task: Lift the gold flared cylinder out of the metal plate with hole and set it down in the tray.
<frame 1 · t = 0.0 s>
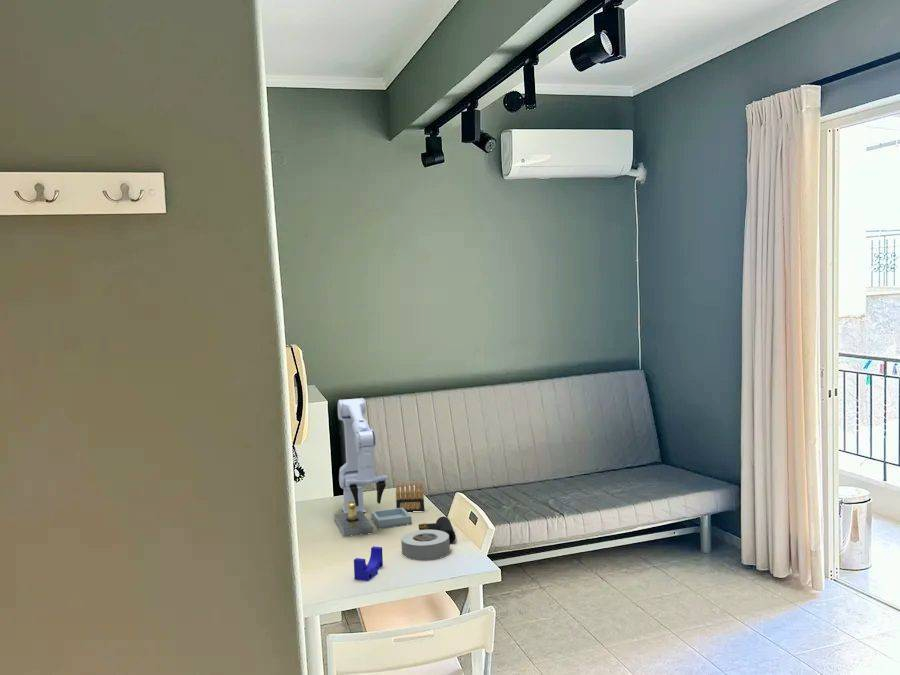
hand: (367, 504, 264), 10 cm above the table, tool pointing down, fingers open, 7 cm apart
gold flared cylinder: (352, 515, 271), in the metal plate with hole
cable clip: (371, 574, 227), on the table
ammunition clip: (410, 512, 288), on the table
metal plate with hole: (353, 526, 272), on the table
tray: (391, 521, 276), on the table
tape roll: (426, 553, 243), on the table
pipe connector: (436, 538, 257), on the table
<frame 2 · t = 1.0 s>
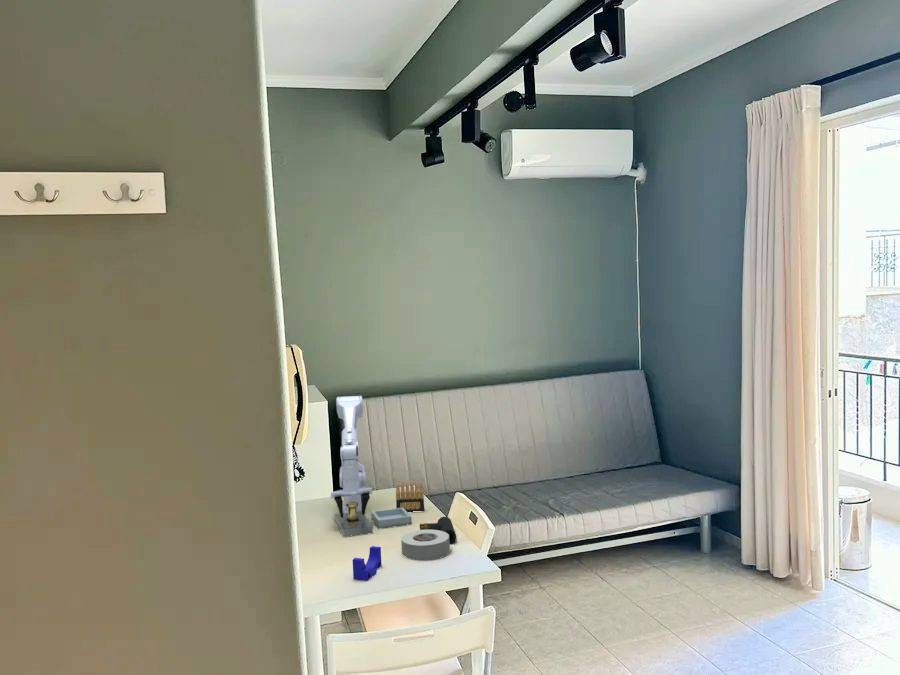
hand: (352, 515, 271), 4 cm above the table, tool pointing down, fingers open, 7 cm apart
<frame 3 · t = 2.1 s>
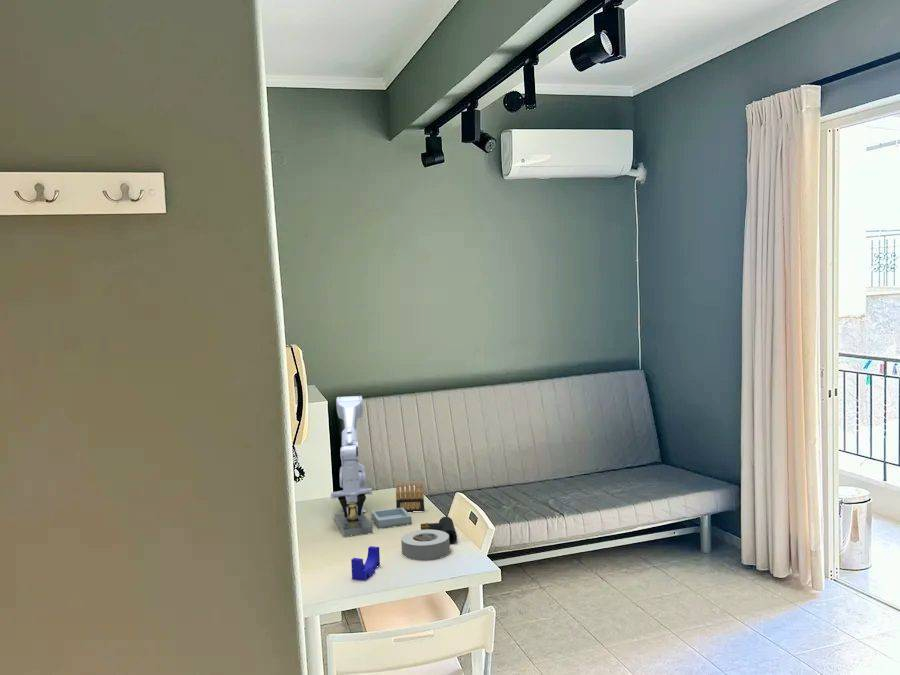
hand: (352, 516, 271), 4 cm above the table, tool pointing down, fingers closed on gold flared cylinder, 4 cm apart
gold flared cylinder: (352, 515, 271), in the metal plate with hole, touching gripper
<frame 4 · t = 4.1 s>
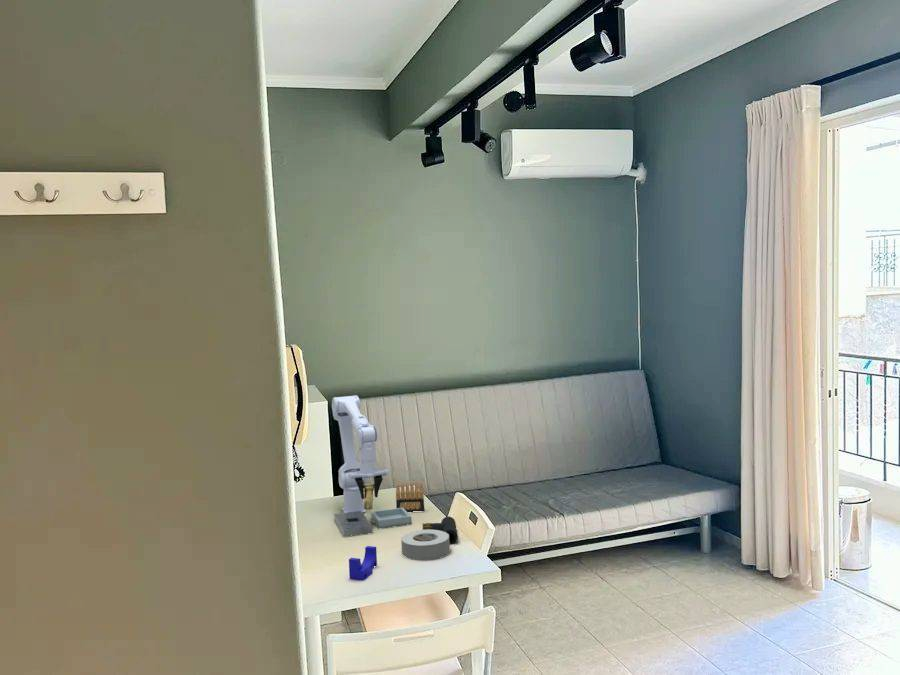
hand: (369, 497, 273), 10 cm above the table, tool pointing down, fingers closed on gold flared cylinder, 4 cm apart
gold flared cylinder: (368, 496, 273), point 10 cm above the table, touching gripper
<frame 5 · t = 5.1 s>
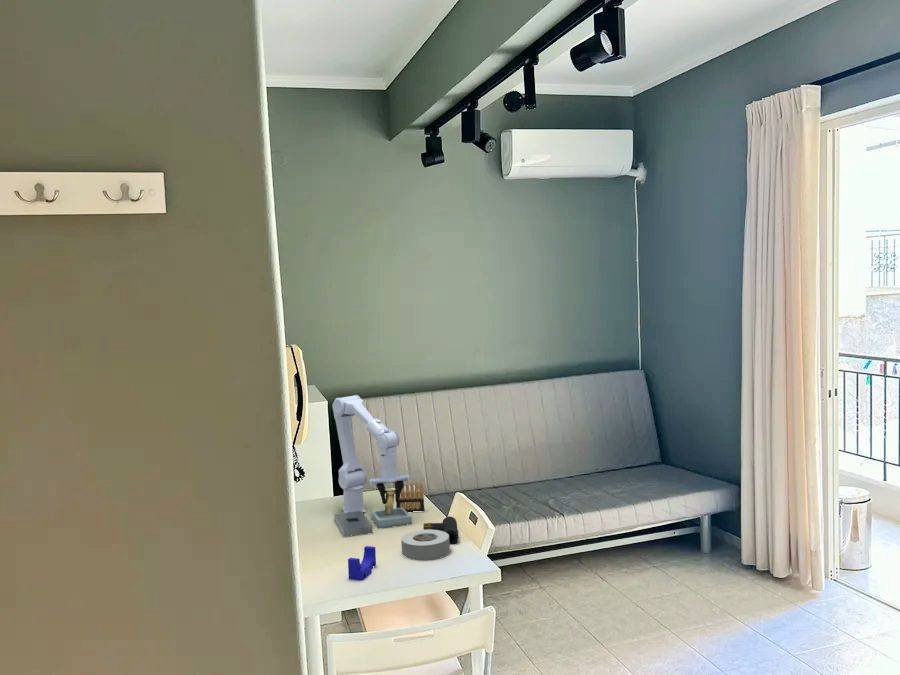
hand: (390, 502, 275), 7 cm above the table, tool pointing down, fingers closed on gold flared cylinder, 4 cm apart
gold flared cylinder: (389, 502, 275), point 7 cm above the table, tilted 7°, touching gripper
when the fingers open (6 cm above the table, at t = 6.1 s): gold flared cylinder drops 1 cm, resting on tray.
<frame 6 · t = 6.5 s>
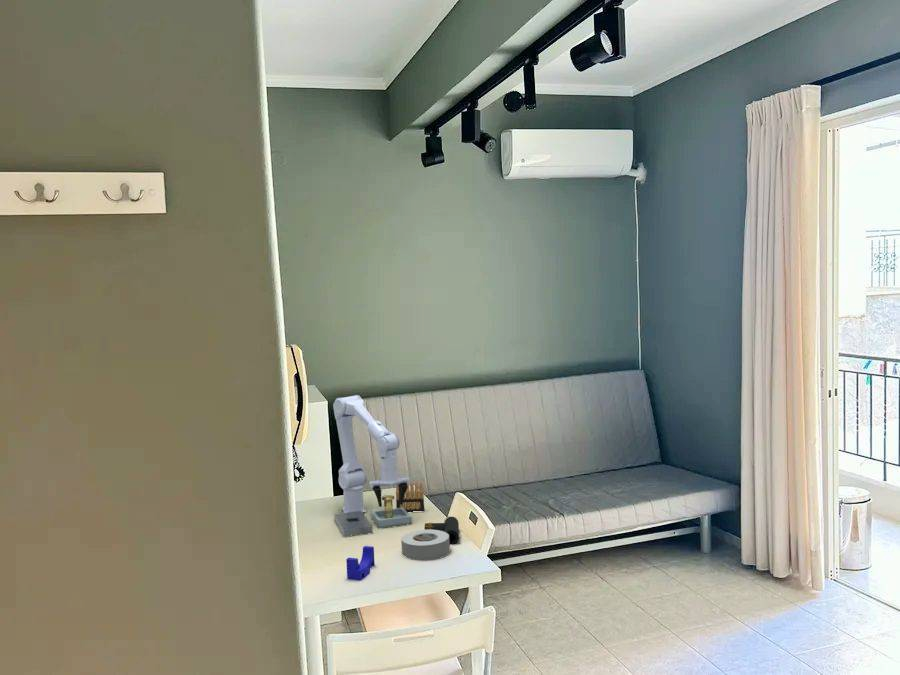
hand: (390, 505, 275), 6 cm above the table, tool pointing down, fingers open, 7 cm apart
gold flared cylinder: (388, 508, 275), in the tray, point 5 cm above the table
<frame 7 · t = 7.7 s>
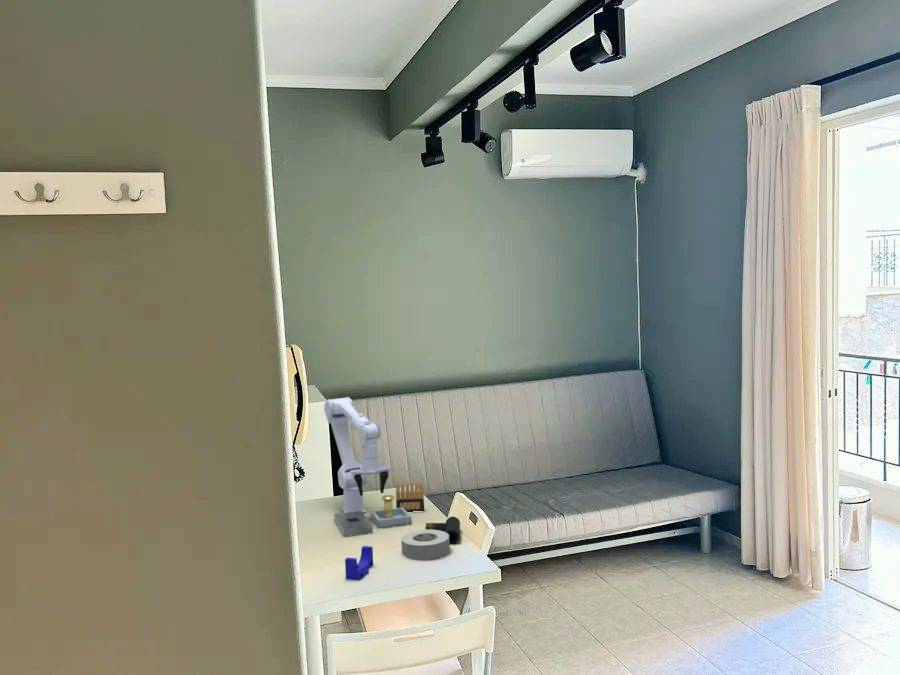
hand: (371, 493, 278), 10 cm above the table, tool pointing down, fingers open, 7 cm apart
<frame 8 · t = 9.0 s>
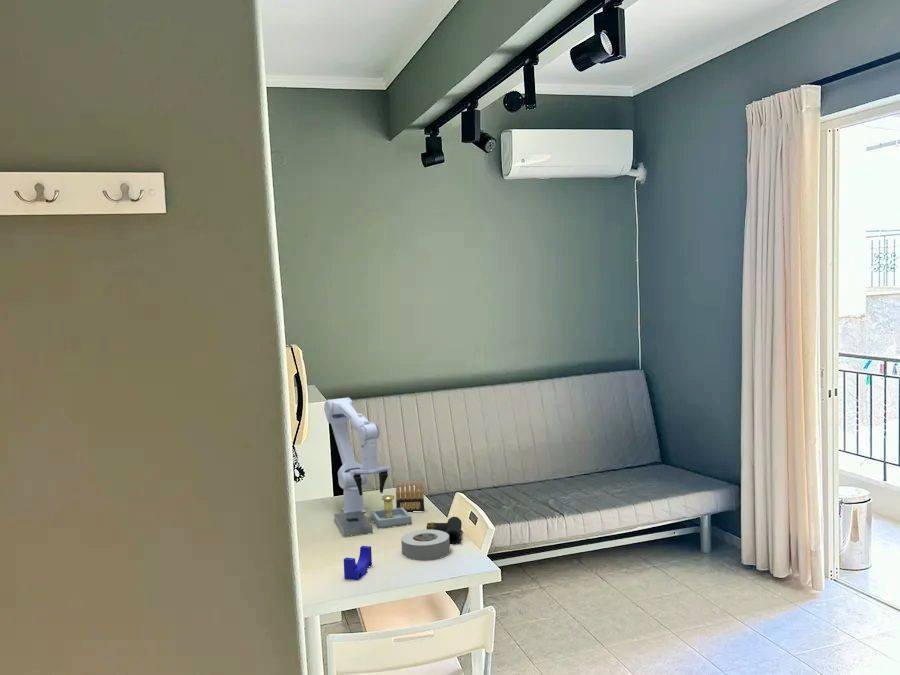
hand: (371, 493, 278), 10 cm above the table, tool pointing down, fingers open, 7 cm apart
at the end: gold flared cylinder inside the target area on the tray (0.8 cm from its centre), point 5.1 cm above the tray's base; gold flared cylinder moved 13.2 cm from its start; the gripper is holding nothing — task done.
